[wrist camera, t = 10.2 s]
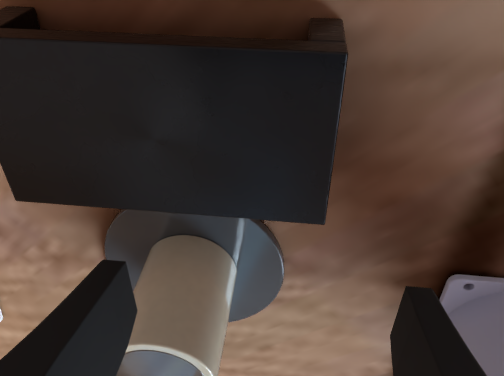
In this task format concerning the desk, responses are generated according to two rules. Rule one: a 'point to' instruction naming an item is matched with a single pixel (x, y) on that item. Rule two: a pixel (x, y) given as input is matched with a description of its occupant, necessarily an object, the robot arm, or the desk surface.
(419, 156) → the desk surface
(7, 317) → the desk surface
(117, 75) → the shelf
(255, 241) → the coaster
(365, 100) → the desk surface
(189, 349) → the cup
